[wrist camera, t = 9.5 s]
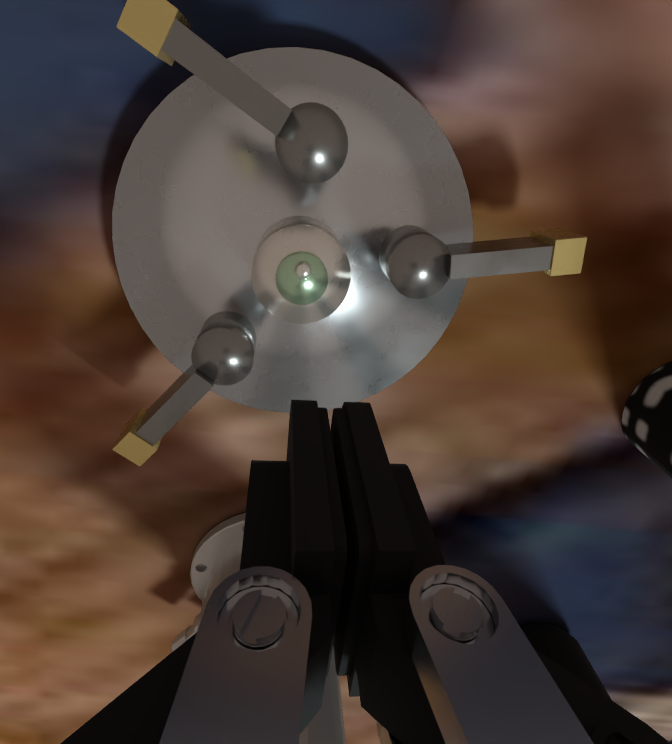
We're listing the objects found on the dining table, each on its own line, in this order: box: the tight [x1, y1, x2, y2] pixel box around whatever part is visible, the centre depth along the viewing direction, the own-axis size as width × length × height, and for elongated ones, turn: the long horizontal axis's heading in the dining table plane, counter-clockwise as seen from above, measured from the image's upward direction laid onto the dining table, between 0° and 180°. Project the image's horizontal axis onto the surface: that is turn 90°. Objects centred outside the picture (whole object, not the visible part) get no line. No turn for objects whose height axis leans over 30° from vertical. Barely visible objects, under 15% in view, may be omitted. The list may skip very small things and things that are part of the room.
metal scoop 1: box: [117, 0, 348, 184], centre depth 20 cm, size 10×3×4 cm, turn 55°
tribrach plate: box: [112, 47, 473, 412], centre depth 25 cm, size 20×20×5 cm
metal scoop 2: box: [112, 311, 256, 466], centre depth 26 cm, size 10×3×4 cm, turn 134°
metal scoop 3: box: [379, 225, 587, 299], centre depth 24 cm, size 10×3×4 cm, turn 94°
